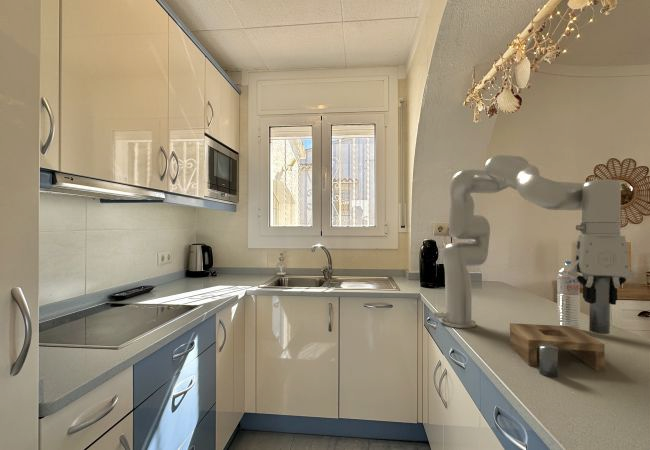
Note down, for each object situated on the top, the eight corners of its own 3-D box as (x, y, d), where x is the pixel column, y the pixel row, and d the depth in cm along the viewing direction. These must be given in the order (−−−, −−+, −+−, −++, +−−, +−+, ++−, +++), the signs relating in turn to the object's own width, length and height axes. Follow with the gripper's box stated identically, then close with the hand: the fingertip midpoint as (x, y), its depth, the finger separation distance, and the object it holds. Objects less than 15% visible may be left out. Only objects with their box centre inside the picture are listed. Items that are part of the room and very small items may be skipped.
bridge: (528, 365, 93) (528, 339, 93) (510, 345, 108) (509, 323, 108) (604, 370, 89) (604, 344, 89) (574, 349, 104) (573, 326, 104)
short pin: (543, 376, 86) (542, 349, 86) (537, 370, 90) (536, 343, 90) (561, 378, 85) (560, 350, 85) (553, 371, 89) (553, 344, 89)
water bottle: (558, 330, 123) (558, 261, 123) (556, 325, 129) (555, 259, 129) (582, 333, 120) (581, 262, 120) (578, 328, 126) (577, 260, 126)
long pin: (594, 333, 84) (595, 268, 83) (586, 328, 88) (586, 266, 87) (613, 334, 83) (614, 269, 83) (603, 329, 87) (604, 266, 86)
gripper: (569, 230, 83) (569, 304, 83) (650, 230, 79) (649, 308, 80) (556, 229, 90) (555, 297, 91) (629, 229, 87) (628, 301, 87)
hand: (599, 302), depth 85 cm, fingers closed on long pin, 4 cm apart
